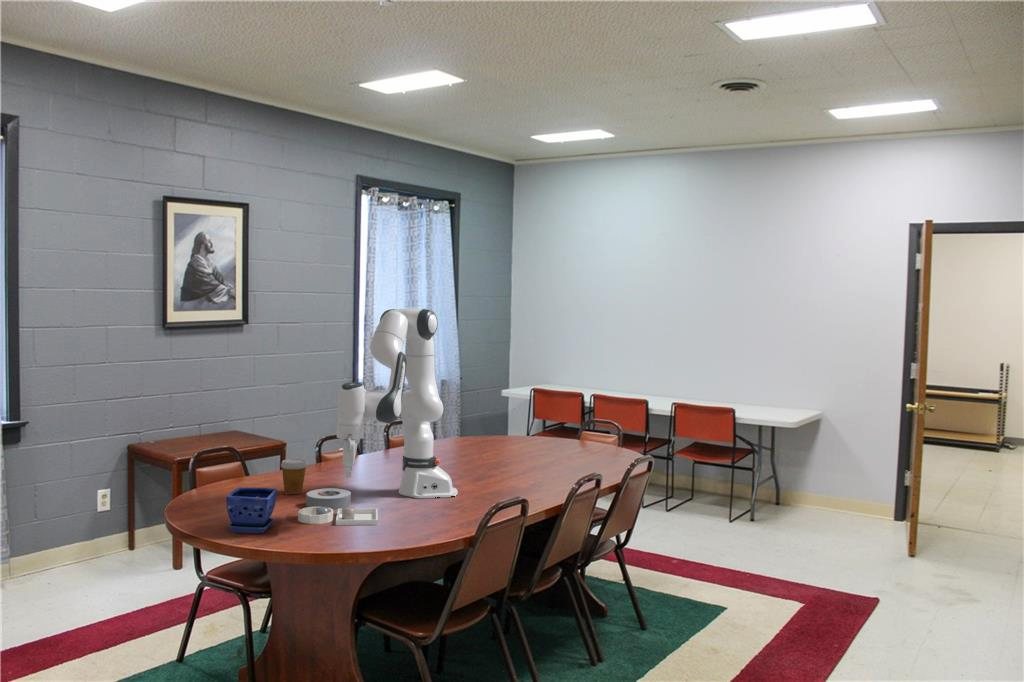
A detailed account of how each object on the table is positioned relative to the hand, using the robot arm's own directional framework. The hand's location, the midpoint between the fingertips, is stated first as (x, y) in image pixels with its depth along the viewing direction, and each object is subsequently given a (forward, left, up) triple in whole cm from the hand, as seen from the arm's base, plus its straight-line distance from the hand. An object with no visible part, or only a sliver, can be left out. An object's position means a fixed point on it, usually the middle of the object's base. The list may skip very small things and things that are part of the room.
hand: (348, 473), depth 273 cm
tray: (-3, 0, -16) cm, 16 cm away
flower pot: (+29, +8, -16) cm, 34 cm away
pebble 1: (+8, 0, -15) cm, 17 cm away
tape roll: (+7, -20, -16) cm, 26 cm away
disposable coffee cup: (+21, -40, -16) cm, 48 cm away
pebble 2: (0, 0, -15) cm, 15 cm away
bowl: (+10, 0, -16) cm, 19 cm away
